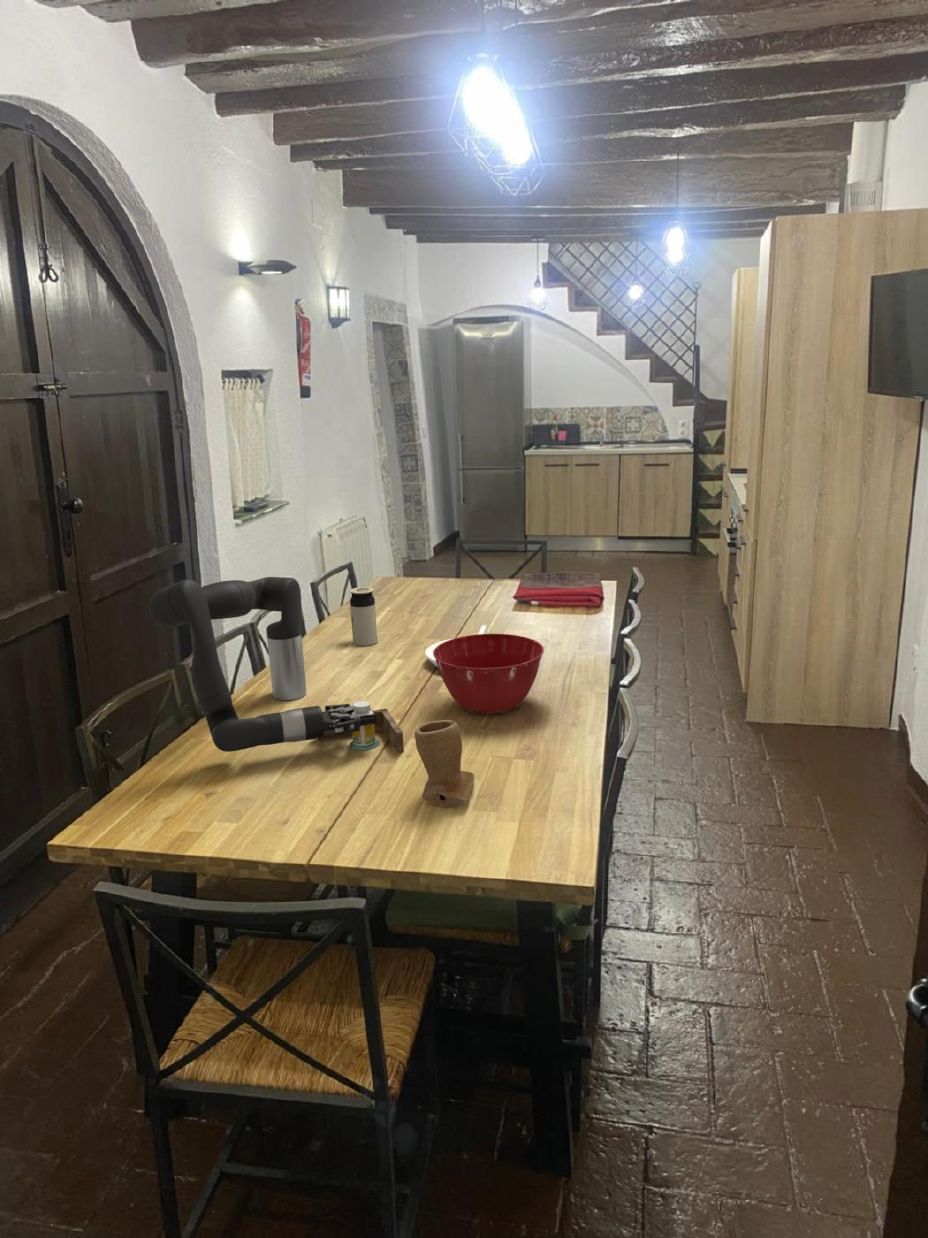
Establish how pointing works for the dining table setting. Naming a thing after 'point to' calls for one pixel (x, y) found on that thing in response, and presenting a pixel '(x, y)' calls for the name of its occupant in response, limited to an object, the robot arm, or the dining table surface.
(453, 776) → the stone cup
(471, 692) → the mixing bowl
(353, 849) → the dining table surface
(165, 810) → the dining table surface
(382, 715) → the corner arena
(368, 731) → the supplement bottle
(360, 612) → the travel mug
